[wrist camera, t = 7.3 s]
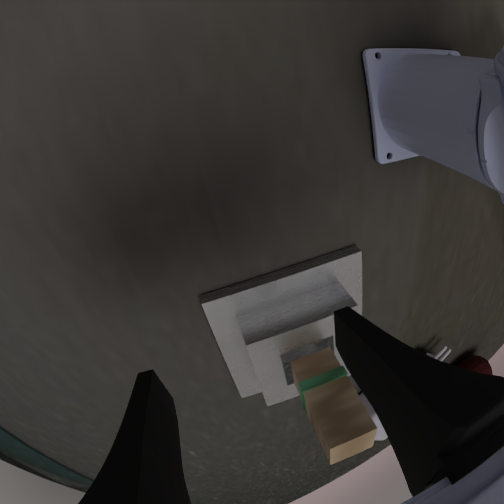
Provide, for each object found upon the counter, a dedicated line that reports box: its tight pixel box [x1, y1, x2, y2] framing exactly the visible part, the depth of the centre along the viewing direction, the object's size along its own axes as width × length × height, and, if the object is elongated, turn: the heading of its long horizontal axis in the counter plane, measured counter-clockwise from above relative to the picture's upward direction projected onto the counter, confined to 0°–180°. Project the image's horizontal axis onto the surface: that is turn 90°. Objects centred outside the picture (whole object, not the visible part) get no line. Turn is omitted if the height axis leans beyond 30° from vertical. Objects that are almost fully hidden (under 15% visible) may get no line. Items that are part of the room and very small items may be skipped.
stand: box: [200, 245, 362, 406], centre depth 25 cm, size 12×12×4 cm
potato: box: [456, 356, 492, 375], centre depth 38 cm, size 7×8×7 cm
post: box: [290, 347, 377, 465], centre depth 19 cm, size 3×3×7 cm
